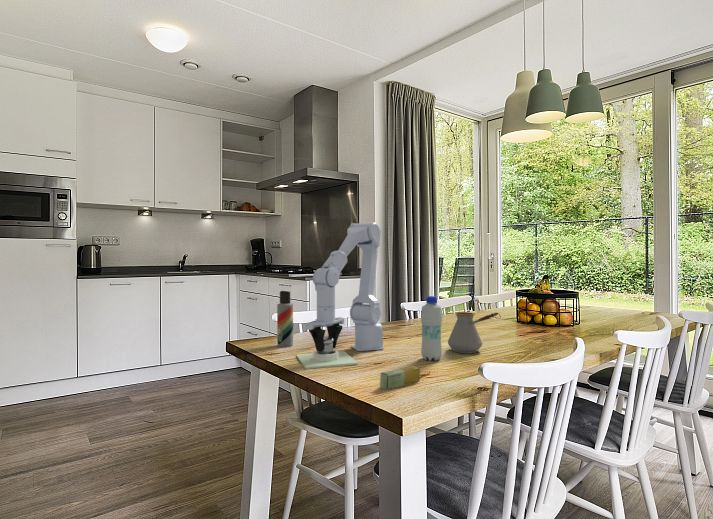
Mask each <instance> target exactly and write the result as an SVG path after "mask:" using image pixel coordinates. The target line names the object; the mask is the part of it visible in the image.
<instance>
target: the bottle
mask: <svg viewBox="0 0 713 519" xmlns="http://www.w3.org/2000/svg"><path fill="white" fill-rule="evenodd" d="M425 301H426V302H425V304H423V305H422V306H421V310H420V311H421V312H420V320H421V358H423V359H424V360H425V361H427V360H428V361H429V362H431V361H432V360H434V361H435V362H436V361H439V360H440V359H441V358H442V355H443V354H442V353H443V351H442V348H443V347H442V322H443V320H442V319H443V312H442V307H441V306H440V305H438V297H436V296H433V295H431V296H426V300H425Z"/></svg>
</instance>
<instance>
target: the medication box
mask: <svg viewBox="0 0 713 519" xmlns="http://www.w3.org/2000/svg"><path fill="white" fill-rule="evenodd" d="M420 378H421V368H420V367H418V366H415V365H410V366H407V367H401V368H397V369H392V370H387V371H384V372H383V371H382V372H380V379H379V380H380V381H379V388H380V389H382V390H384V389H386V390H385V391H388V390H391V389H390V388H392V389H396V388H399V387H398V386H400V387H403V386H402V385H404V386H407V385H411V384H415V383H418V381H419V382H420ZM414 382H415V383H414ZM410 383H411V384H410ZM406 384H407V385H406ZM395 387H396V388H395ZM387 389H388V390H387Z"/></svg>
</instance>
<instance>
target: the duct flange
mask: <svg viewBox="0 0 713 519" xmlns="http://www.w3.org/2000/svg"><path fill="white" fill-rule="evenodd" d="M295 355H296V358H297V360H298V361H299V362H300V363H301V365H302V366H303V368H304V369H305V370H311V369H313V370H314V369H321V368H334V367H336V368H337V367H342V366H343V367H346V366H357V365H359V361H357V360H355V358H353V357H352V356H350V355H349V353H347V352H346V351H344V350H343V351H341V350H340V351H339V350H337V349H336V350H335V349H333V354H319V351H317V350H315V351H313V352H312V353H302V354H295Z"/></svg>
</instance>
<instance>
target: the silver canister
mask: <svg viewBox="0 0 713 519" xmlns="http://www.w3.org/2000/svg"><path fill="white" fill-rule="evenodd" d="M333 342H334V337H331V336H328V335H324V339H323V351H322V352H320V351H319V354H333V350H334V349H333Z"/></svg>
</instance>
